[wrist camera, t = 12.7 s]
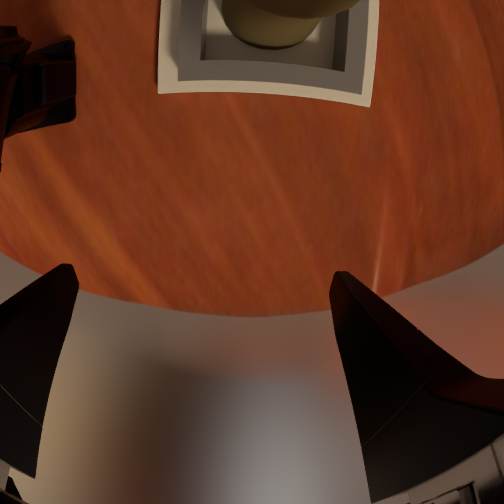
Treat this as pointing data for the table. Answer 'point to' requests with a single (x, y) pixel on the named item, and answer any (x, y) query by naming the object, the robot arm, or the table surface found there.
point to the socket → (267, 55)
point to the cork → (278, 20)
